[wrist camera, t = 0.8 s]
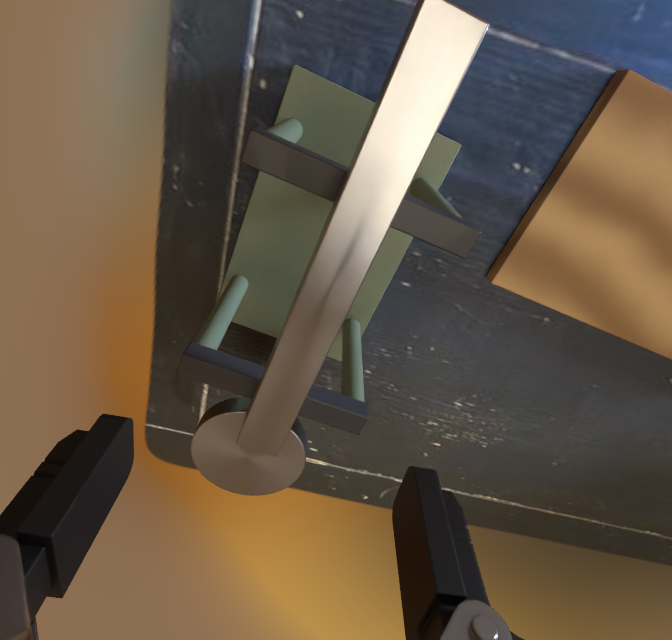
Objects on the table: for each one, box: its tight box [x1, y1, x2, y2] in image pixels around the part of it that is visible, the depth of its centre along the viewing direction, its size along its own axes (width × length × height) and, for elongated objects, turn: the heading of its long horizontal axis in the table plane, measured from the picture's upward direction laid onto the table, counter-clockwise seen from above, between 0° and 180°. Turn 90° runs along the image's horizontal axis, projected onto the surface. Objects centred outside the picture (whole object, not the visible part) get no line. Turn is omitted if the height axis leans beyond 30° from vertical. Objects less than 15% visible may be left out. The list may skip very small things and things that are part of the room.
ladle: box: [191, 0, 489, 495], centre depth 18 cm, size 24×6×3 cm, turn 157°
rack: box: [177, 64, 481, 435], centre depth 23 cm, size 16×10×11 cm, turn 157°
